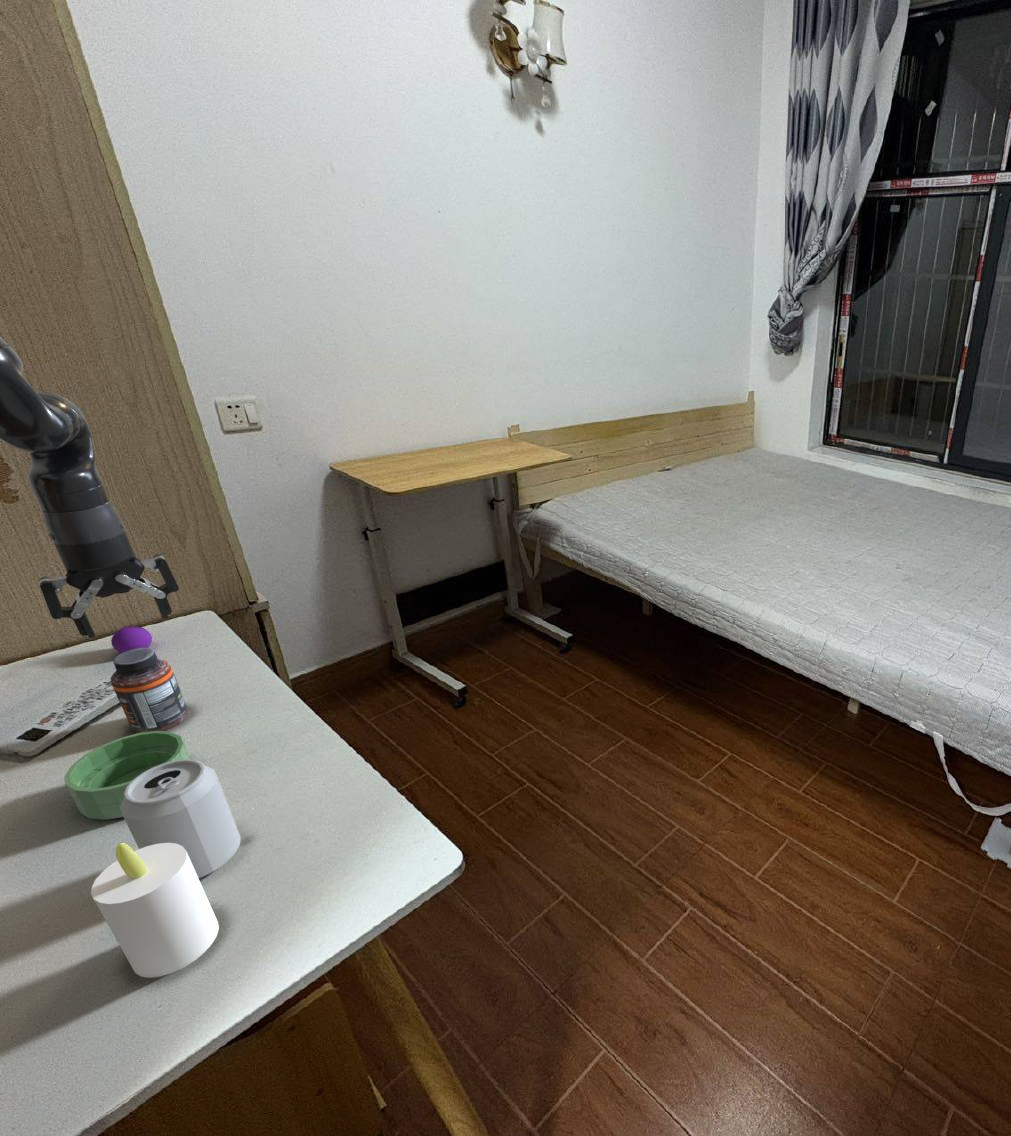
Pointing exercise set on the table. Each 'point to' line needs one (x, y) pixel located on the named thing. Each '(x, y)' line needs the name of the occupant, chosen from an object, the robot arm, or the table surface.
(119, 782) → the bowl
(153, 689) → the supplement bottle
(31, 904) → the table surface
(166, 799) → the can
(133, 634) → the ball
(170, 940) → the candle
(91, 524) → the robot arm
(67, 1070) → the table surface
